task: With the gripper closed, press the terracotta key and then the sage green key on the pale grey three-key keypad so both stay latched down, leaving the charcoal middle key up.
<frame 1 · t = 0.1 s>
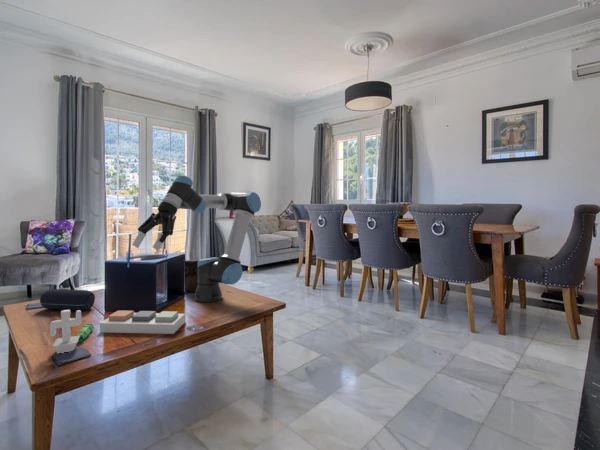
hand: (144, 247, 133), 36 cm above the table, tool tilted 35°, fingers open, 13 cm apart
charcoal key: (144, 317, 140), point 5 cm above the table, slide at 0.0 cm
figurine: (67, 350, 118), on the table
terracotta key: (121, 316, 141), point 5 cm above the table, slide at 0.0 cm
keypad: (144, 327, 141), on the table
portable speaker: (69, 309, 163), on the table
candy: (84, 337, 130), on the table
sage key: (166, 317, 140), point 4 cm above the table, slide at 0.0 cm
owl: (195, 291, 199), on the table
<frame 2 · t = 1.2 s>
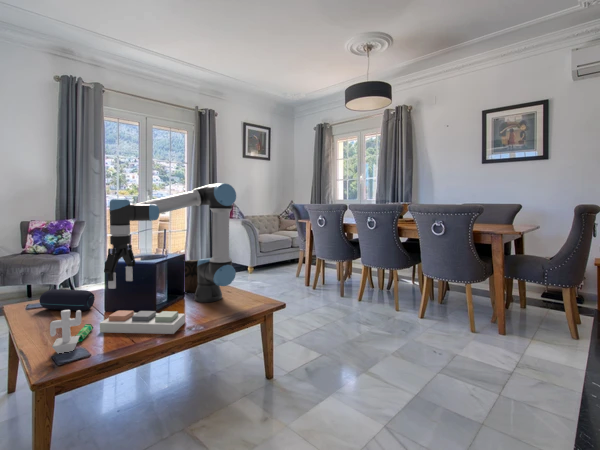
hand: (121, 284, 139), 19 cm above the table, tool pointing down, fingers open, 12 cm apart
nothing on the table moved.
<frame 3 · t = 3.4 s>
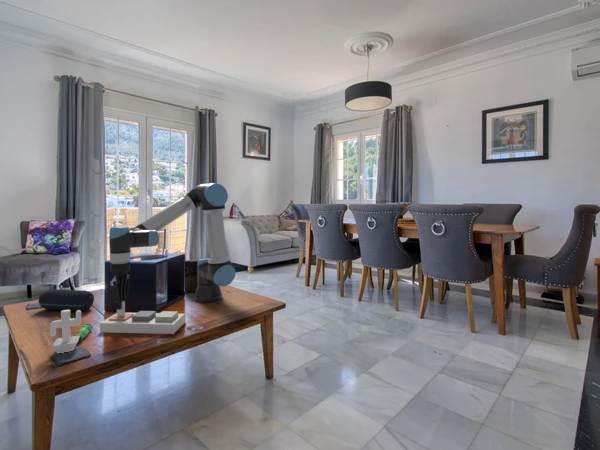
hand: (121, 315, 140), 5 cm above the table, tool pointing down, fingers closed
terracotta key: (121, 319, 141), point 3 cm above the table, slide at 1.4 cm, touching gripper
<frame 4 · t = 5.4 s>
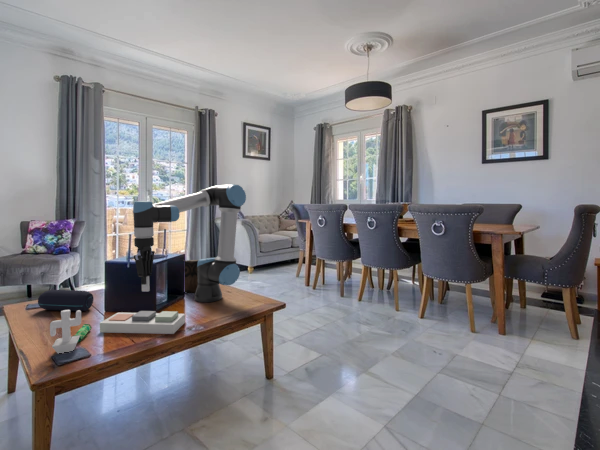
hand: (145, 291, 140), 16 cm above the table, tool pointing down, fingers closed
terracotta key: (121, 320, 141), point 3 cm above the table, slide at 1.6 cm
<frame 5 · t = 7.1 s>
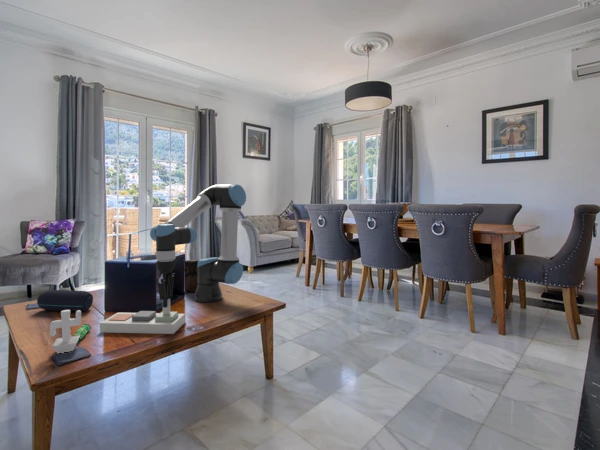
hand: (166, 313, 140), 6 cm above the table, tool pointing down, fingers closed
sage key: (166, 317, 140), point 4 cm above the table, slide at 0.1 cm, touching gripper
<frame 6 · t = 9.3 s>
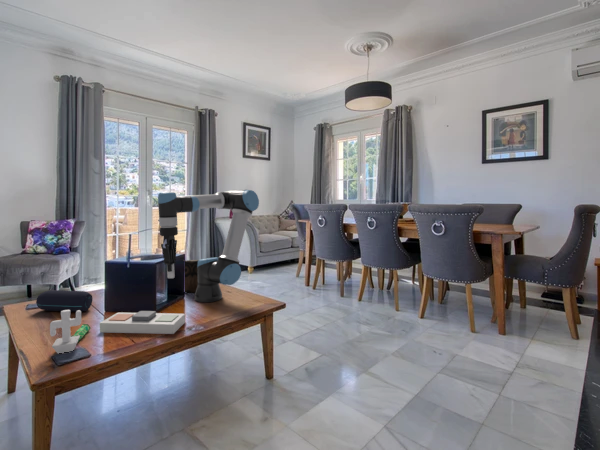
hand: (171, 277, 147), 20 cm above the table, tool pointing down, fingers closed
sage key: (166, 321, 140), point 3 cm above the table, slide at 1.6 cm
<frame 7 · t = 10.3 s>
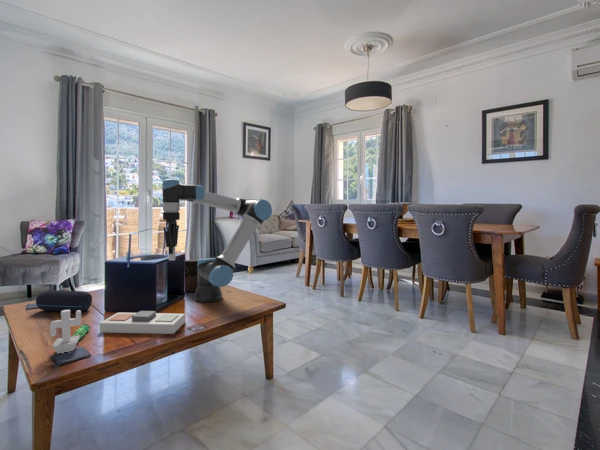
hand: (172, 260, 157), 26 cm above the table, tool pointing down, fingers closed
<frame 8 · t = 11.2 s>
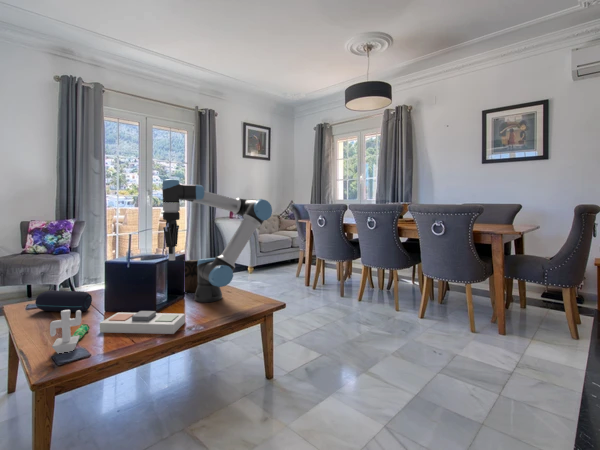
hand: (172, 260, 157), 26 cm above the table, tool pointing down, fingers closed
at the end: terracotta key slide at 1.6 cm; sage key slide at 1.6 cm; charcoal key slide at 0.0 cm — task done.
